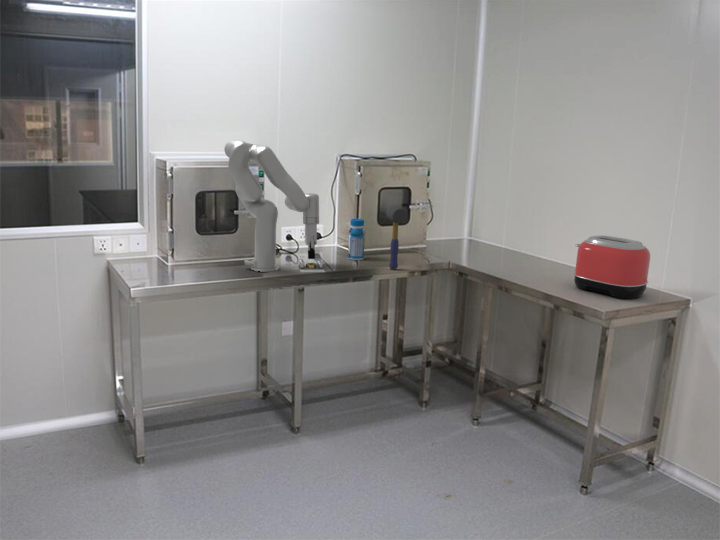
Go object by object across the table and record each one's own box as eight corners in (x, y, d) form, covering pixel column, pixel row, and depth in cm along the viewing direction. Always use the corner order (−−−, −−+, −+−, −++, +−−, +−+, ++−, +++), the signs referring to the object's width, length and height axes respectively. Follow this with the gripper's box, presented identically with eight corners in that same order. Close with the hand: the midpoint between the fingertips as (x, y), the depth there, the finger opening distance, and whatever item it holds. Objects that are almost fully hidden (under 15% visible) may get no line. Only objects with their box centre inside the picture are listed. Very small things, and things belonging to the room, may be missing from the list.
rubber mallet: (382, 266, 315) (385, 204, 308) (397, 266, 317) (400, 204, 310) (389, 272, 303) (392, 207, 297) (404, 272, 305) (408, 208, 298)
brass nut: (306, 268, 302) (306, 264, 301) (305, 266, 305) (305, 262, 305) (316, 268, 302) (316, 264, 302) (315, 266, 306) (315, 262, 306)
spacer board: (300, 273, 294) (300, 272, 294) (298, 266, 307) (298, 265, 307) (324, 273, 296) (324, 272, 296) (321, 266, 309) (321, 265, 309)
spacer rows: (300, 269, 300) (300, 262, 299) (298, 265, 307) (299, 259, 307) (322, 269, 302) (323, 262, 301) (320, 265, 309) (321, 259, 308)
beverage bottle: (354, 261, 325) (356, 221, 320) (344, 258, 331) (345, 218, 326) (367, 259, 330) (369, 219, 326) (356, 256, 336) (358, 217, 332)
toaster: (654, 295, 280) (662, 242, 275) (627, 303, 265) (635, 247, 260) (586, 280, 304) (592, 231, 298) (558, 286, 289) (564, 235, 284)
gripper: (301, 217, 312) (302, 255, 316) (304, 223, 298) (305, 262, 302) (317, 217, 313) (317, 255, 318) (320, 222, 299) (321, 261, 303)
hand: (311, 258), depth 310 cm, fingers closed
